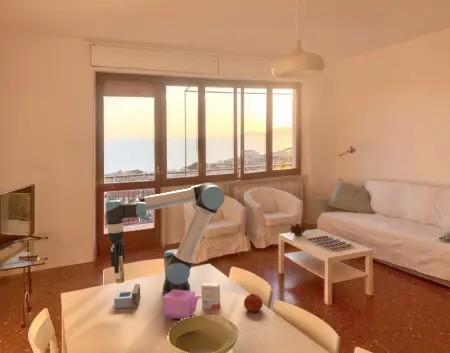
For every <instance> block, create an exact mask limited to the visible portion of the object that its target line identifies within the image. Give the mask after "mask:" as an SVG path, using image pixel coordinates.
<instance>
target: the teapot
mask: <svg viewBox="0 0 450 353" xmlns="http://www.w3.org/2000/svg"><path fill="white" fill-rule="evenodd" d="M199 299H202V295H196V292H195V291H192V290H190V291H185V290H176V289H173V290H171V291H170V292H169V293H167V294H164V295H163V296H162V304H163V306H162V307H163V317H166V318H168V319H169V320H174V319H179V320H180V321H181V319H184V318H187V317H189V318H190V317H191V316H192V315H193V314H194V313H195V311H197V305H198V304H197V303H198V300H199Z"/></svg>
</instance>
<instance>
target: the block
mask: <svg viewBox="0 0 450 353" xmlns="http://www.w3.org/2000/svg"><path fill="white" fill-rule="evenodd" d="M132 292H133V290H120V291H119V290H118V291H117V292H116V295H114V296H115V297H114V299H113V300H114V309H125V308H133V305H132Z"/></svg>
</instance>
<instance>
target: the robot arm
mask: <svg viewBox="0 0 450 353" xmlns="http://www.w3.org/2000/svg"><path fill="white" fill-rule="evenodd" d="M225 198H226V197H225V193H224V191H223V189H222V188H221V187H220V186H218V185H217V184H216V183H213V182H205V183H201V184H196V185H192V186H191V187H190V188H187V189H180V190H175V191H170V192H163V193H159V194H153V195H147V196H142V197H133V198H131V199H130V200H129V202H128V203H122V200H121V199H111V200H108V201H106V202H105V214H106V215H105V216H106V227H107V232H108V233H107V238H108V239H107V240H109V242H111V247H109V248H108V249H109V250H108V251H109V255H110V262H111V267H113V270H114V280H116V279H121V273H120V266H119V255H120V256H122V260H123V272H124V273H125V266H124V263H126V254H125V252H126V251H125V240H124V238H125V231H124V221H123V220H124V219H125V220H127V219H137V218H145V217H147V215H148V212H147V211H152V210H157V209H163V208H169V207H174V206H179V205H184V204H189V203H190V204H191V203H194V204H195V207H196V210H195V212H194V214H193V215H192V219H191V220H190V222H189V225H188V226H187V229H186V231H185V233H184V235H183V237H182V240H181V242H180V243H179V244H180V245H179V246H178V248H175V249H174V248H173V249H169V250H165V251H164V256H163V257H164V258H163V259H164V275H165V276H164V282H163V284H162V293H163V294H164V295H165V294H167V293H169V292H170V291H171V290H173V289H176V290H185V291H191V285H190V282H189V279H190V275H191V271H190V270H191V269H192V267H193V264H194V259H193V257H194V255H195V254H196V250H197V249H198V246H199V244H200V242H201V239H202V237H203V235H204V234H205V232H206V229H207V226H208V225H209V223H210V220H211V219H212V216H214V215H216V214H217V212H218V210H219V209H220V208H221V207H222V205H223V204H224V202H225Z"/></svg>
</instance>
